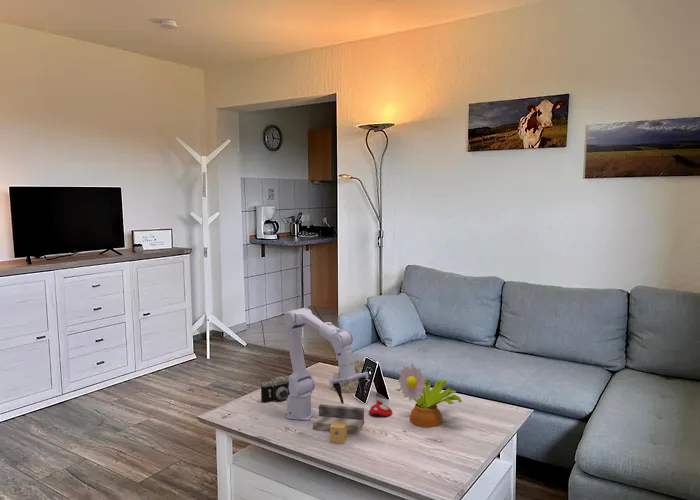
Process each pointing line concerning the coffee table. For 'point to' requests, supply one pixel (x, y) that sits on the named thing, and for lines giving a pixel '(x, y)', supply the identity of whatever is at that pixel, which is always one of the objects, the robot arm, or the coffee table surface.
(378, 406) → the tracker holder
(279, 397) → the camera
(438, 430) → the coffee table surface
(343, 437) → the cabinet block
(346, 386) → the rough stone chunk
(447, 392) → the decorative plant
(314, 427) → the board
